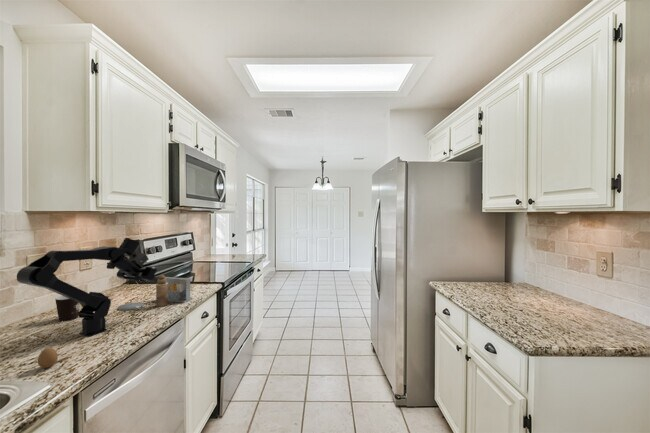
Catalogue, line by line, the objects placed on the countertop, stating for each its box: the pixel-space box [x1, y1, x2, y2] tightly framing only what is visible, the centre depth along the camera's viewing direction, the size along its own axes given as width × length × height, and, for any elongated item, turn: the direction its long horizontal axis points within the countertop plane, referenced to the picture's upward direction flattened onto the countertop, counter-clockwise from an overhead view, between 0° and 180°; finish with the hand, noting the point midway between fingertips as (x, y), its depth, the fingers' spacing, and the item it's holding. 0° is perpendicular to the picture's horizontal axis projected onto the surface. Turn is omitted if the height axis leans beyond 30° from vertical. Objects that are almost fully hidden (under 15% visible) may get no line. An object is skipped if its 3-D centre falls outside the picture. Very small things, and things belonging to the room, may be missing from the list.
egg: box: [37, 347, 59, 369], centre depth 88 cm, size 4×4×6 cm
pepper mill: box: [155, 274, 169, 308], centre depth 146 cm, size 5×5×16 cm
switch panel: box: [165, 276, 193, 304], centre depth 155 cm, size 6×16×12 cm, turn 76°
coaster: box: [117, 301, 145, 312], centre depth 144 cm, size 11×11×1 cm
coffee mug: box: [54, 295, 81, 322], centre depth 129 cm, size 12×9×10 cm
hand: (148, 280), depth 138 cm, fingers open, 9 cm apart
